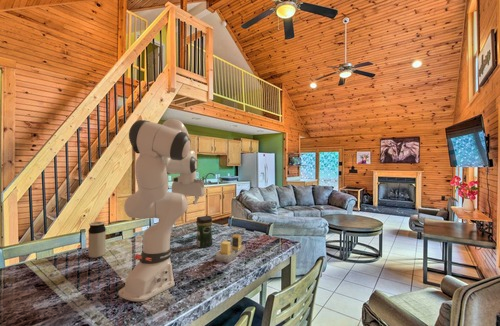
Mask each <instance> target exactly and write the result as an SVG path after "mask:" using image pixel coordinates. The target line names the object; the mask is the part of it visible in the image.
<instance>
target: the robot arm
mask: <svg viewBox="0 0 500 326" xmlns="http://www.w3.org/2000/svg"><path fill="white" fill-rule="evenodd" d="M128 139H129V143H130V144H131V147H132V150H133V152H134V153H136V154H139V156H138V157H137V159H136V161H135V165H134V166H135V168H134V171H135V172H134V174H135V180H136V183H137V191H136V192H134V193H132V194H130V195H129V196H128V197H127V198H126V199H125V201H124V205H123V207H124V208H123V209H124V212H125V214H126V216H128V217H129V218H133V219H142V220H143V219H158V221H157V222H156V223H155V224H153V225H150V227H148V228H147V229H145V230H144V232H143V235H142V250H141V253H140V254H135V256H134V260H138V263H137V264H136V265H135V266H134V268H133V269H132V270H131V271H130V272H129V274H128V275H127V276H126V278H125V284H124V286H123V287H122V288H120V289H119V290H118V296H119V297H120V298H121V299H125V300H128V301H130V302H145V301H147V300H149V299H151V298H153V297H155V296H157V295H159V294H161V293H162V292H164V291H166V290H168V289H170V288H172V287H174V286H175V281H174V275H173V274H174V273H173V266H172V262H171V257H172V247H171V234H172V229H173V226H174V225H175V223H176V221H177V220H178V219H179V218H180V217H182V216H183V215H184V214H185V213H186V211H187V209H188V206H189V205H188V203H189V202H188V199H187V197H194V200H193V201H192V204H193V205H198V200H199V198H200V197H204V196H205V194H206V193H205V192H206V191H205V182H204V181H203V180H202V179H197V170H198V160H197V155H196V152H195V150H193V149H191V145H192V142H191V137H190V134H189V132H188V129H187V127H186V126H185V125H184V123H183V122H182V120H179V119H177V118H169V119H167V120H166V119H165V121H163V123H162V124H160V123H156V122H152V121H150V120H146V119H139V120H136V121H135V122H133V124H131V126H130V129H129V132H128ZM168 175H178V176H175V177H173V178H172V184H171V191H170V192H169V186H170V185H169V178H168Z"/></svg>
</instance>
